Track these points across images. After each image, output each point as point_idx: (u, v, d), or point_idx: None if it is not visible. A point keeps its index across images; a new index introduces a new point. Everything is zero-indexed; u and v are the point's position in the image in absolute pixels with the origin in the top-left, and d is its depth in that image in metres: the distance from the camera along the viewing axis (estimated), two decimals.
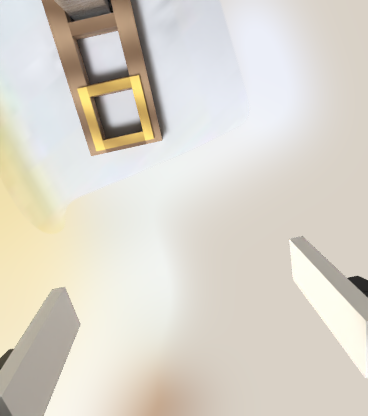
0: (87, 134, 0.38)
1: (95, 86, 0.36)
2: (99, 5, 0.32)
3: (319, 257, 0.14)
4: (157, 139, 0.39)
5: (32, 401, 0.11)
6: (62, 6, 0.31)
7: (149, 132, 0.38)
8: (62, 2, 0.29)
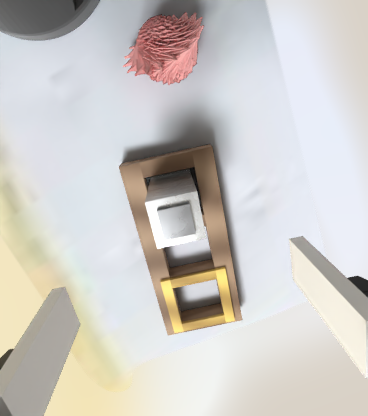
0: (165, 317, 0.37)
1: (179, 279, 0.34)
2: None
3: (319, 257, 0.14)
4: (237, 319, 0.37)
5: (32, 401, 0.11)
6: None
7: (230, 315, 0.37)
8: None
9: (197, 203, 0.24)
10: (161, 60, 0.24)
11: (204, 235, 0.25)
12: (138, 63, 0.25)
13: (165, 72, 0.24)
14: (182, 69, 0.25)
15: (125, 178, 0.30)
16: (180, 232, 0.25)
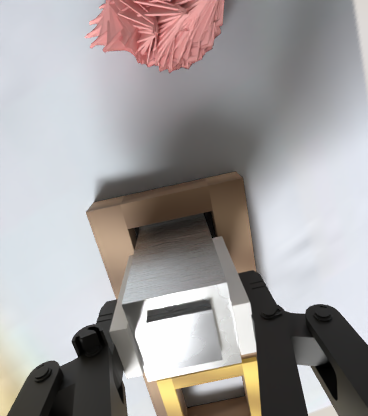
0: None
1: (186, 377, 0.22)
2: None
3: (225, 254, 0.16)
4: None
5: None
6: None
7: None
8: None
9: (227, 304, 0.12)
10: (155, 18, 0.12)
11: (238, 357, 0.13)
12: (111, 28, 0.13)
13: (163, 45, 0.12)
14: (196, 40, 0.13)
15: (97, 230, 0.18)
16: (193, 358, 0.13)
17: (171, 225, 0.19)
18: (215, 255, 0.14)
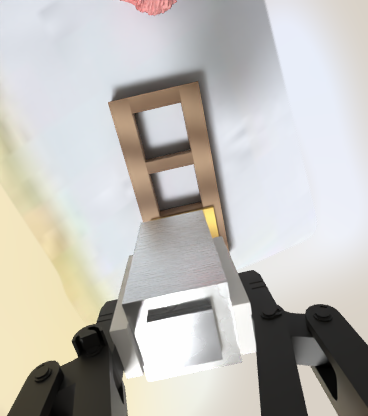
0: None
1: None
2: None
3: (225, 254, 0.16)
4: None
5: None
6: None
7: None
8: None
9: (227, 304, 0.12)
10: None
11: (238, 357, 0.13)
12: None
13: None
14: None
15: (114, 114, 0.31)
16: (193, 358, 0.13)
17: (171, 225, 0.19)
18: (215, 255, 0.14)
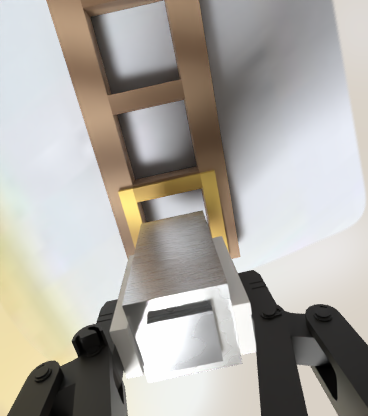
0: (129, 251, 0.25)
1: (146, 188, 0.23)
2: None
3: (225, 254, 0.16)
4: (233, 255, 0.26)
5: None
6: None
7: None
8: None
9: (227, 305, 0.12)
10: None
11: (238, 358, 0.13)
12: None
13: None
14: None
15: (53, 7, 0.19)
16: (194, 359, 0.13)
17: (171, 226, 0.19)
18: (215, 256, 0.14)
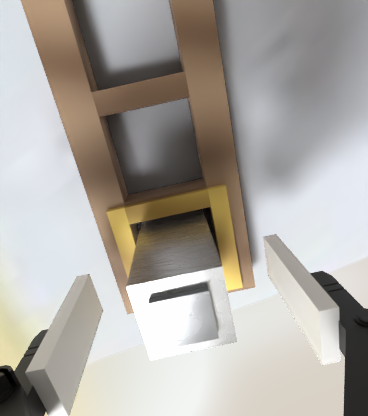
0: (121, 282, 0.21)
1: (141, 207, 0.19)
2: None
3: (288, 253, 0.14)
4: (247, 286, 0.22)
5: (68, 376, 0.12)
6: None
7: (235, 278, 0.21)
8: None
9: (222, 286, 0.13)
10: None
11: (233, 337, 0.14)
12: None
13: None
14: None
15: None
16: (192, 337, 0.14)
17: (171, 218, 0.20)
18: (212, 243, 0.15)
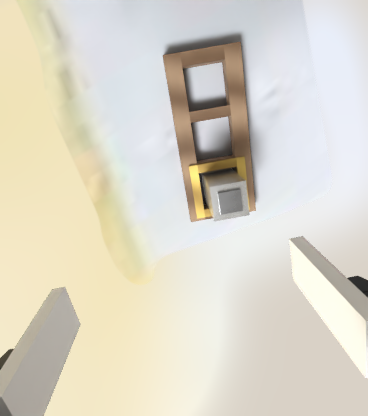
0: (190, 204, 0.42)
1: (205, 165, 0.40)
2: None
3: (319, 257, 0.14)
4: (251, 209, 0.43)
5: (32, 401, 0.11)
6: (211, 211, 0.39)
7: None
8: None
9: (245, 189, 0.35)
10: None
11: (248, 212, 0.36)
12: None
13: None
14: None
15: (167, 66, 0.36)
16: (232, 209, 0.35)
17: (217, 172, 0.42)
18: (240, 176, 0.37)
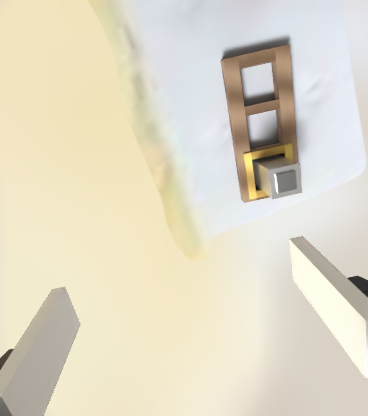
0: (243, 186, 0.49)
1: (257, 152, 0.47)
2: None
3: (319, 257, 0.14)
4: None
5: (32, 401, 0.11)
6: None
7: None
8: None
9: (299, 170, 0.41)
10: None
11: (300, 190, 0.42)
12: None
13: None
14: None
15: (226, 68, 0.43)
16: (288, 188, 0.42)
17: (267, 158, 0.48)
18: (292, 160, 0.43)
